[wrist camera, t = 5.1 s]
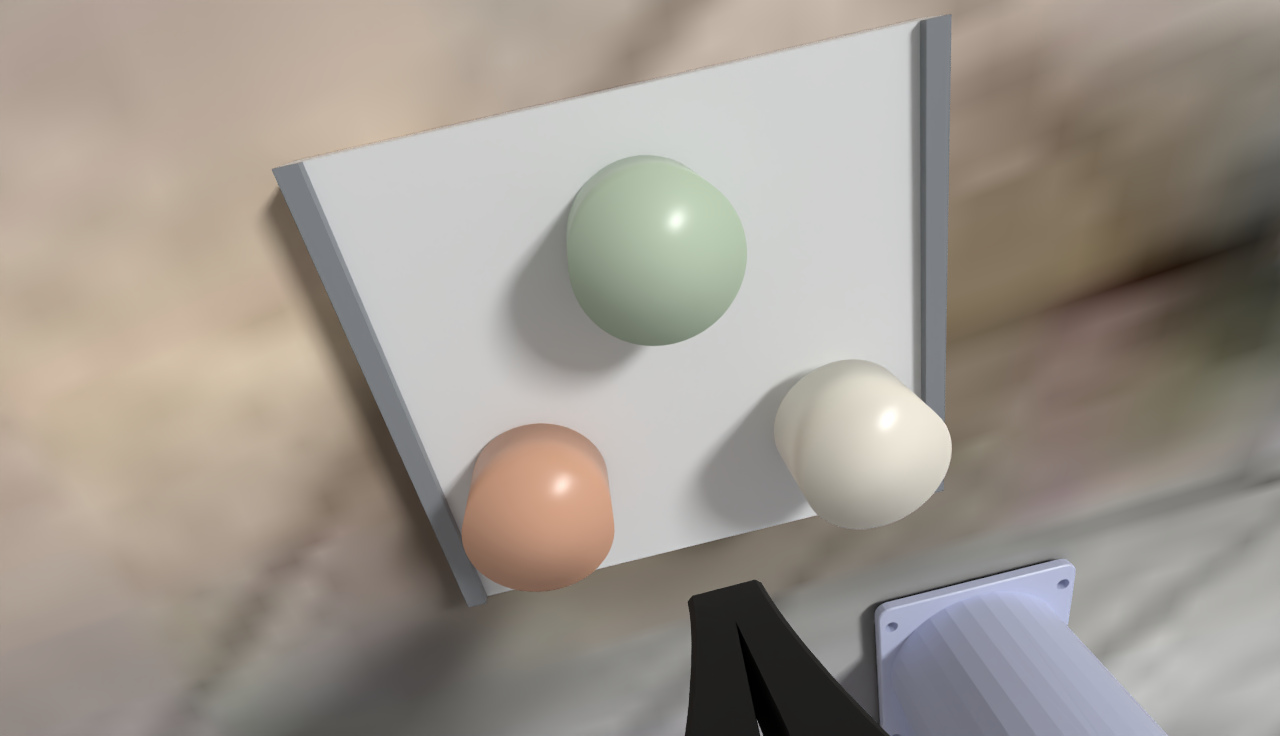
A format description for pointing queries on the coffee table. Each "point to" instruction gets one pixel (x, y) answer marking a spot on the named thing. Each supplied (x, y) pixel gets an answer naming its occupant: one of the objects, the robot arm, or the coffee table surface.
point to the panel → (615, 369)
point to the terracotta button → (538, 509)
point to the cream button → (861, 444)
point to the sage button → (654, 251)
